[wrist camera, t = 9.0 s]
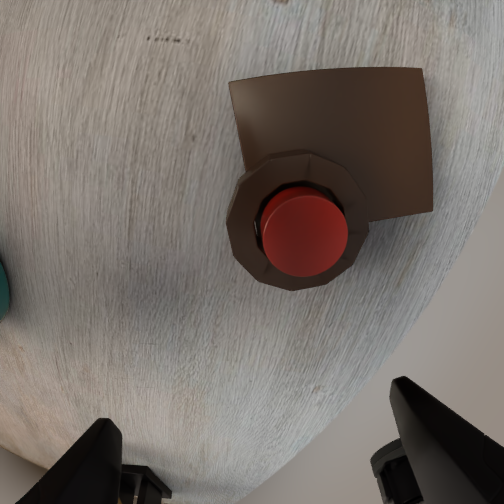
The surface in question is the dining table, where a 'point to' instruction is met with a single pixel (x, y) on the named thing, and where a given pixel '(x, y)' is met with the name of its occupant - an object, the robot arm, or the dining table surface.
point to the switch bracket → (141, 486)
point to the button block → (330, 154)
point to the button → (303, 231)
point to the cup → (3, 294)
